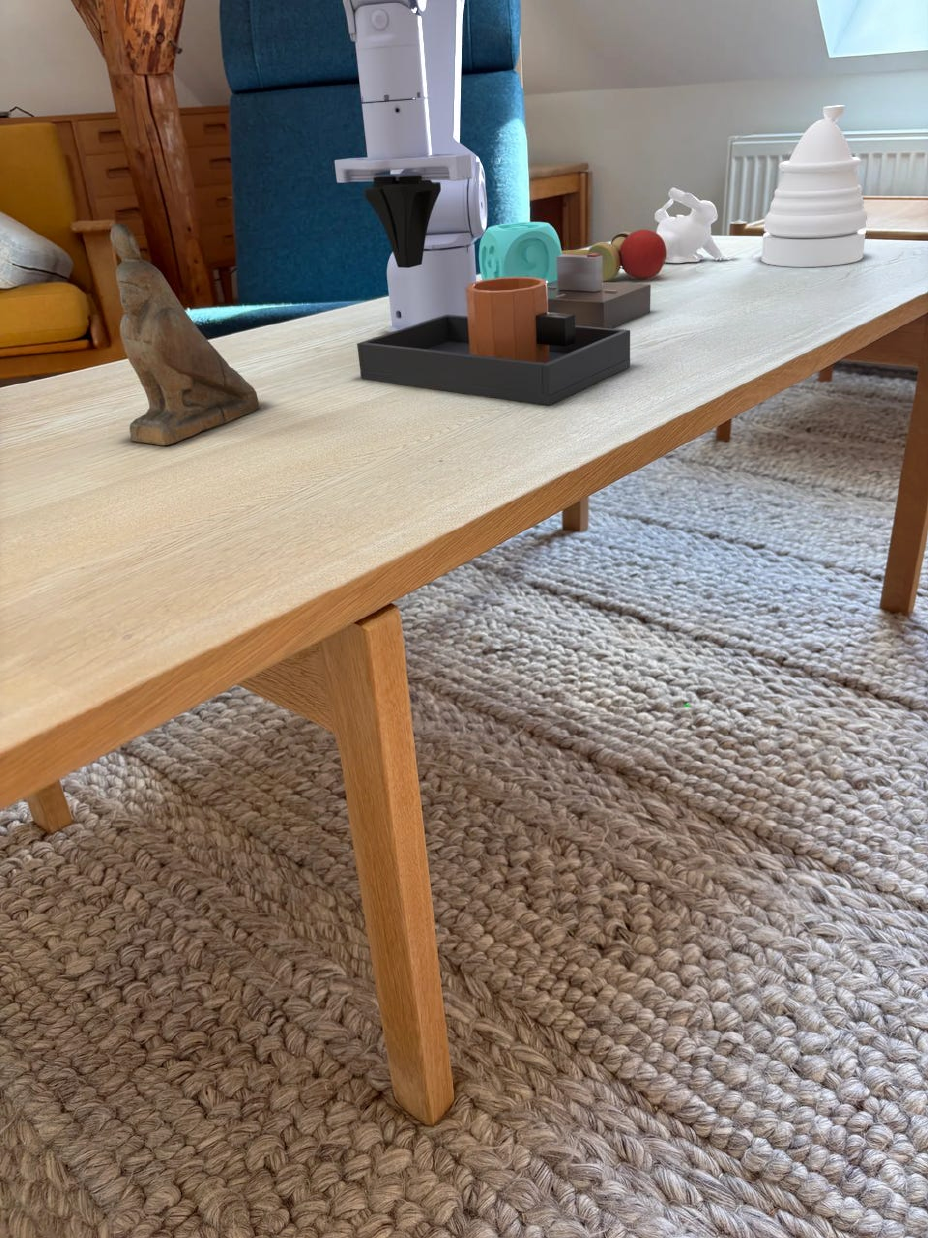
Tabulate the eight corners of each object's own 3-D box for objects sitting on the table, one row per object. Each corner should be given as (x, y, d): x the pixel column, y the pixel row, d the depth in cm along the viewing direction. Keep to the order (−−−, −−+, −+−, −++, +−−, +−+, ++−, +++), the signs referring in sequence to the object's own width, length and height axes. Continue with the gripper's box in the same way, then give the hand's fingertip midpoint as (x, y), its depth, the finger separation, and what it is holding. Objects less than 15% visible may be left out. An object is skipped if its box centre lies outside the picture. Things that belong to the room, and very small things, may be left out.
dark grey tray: (360, 378, 92) (356, 343, 90) (448, 346, 101) (446, 314, 99) (549, 405, 80) (548, 364, 78) (630, 366, 89) (630, 329, 87)
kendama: (531, 289, 133) (646, 276, 121) (529, 239, 131) (646, 221, 120) (564, 289, 138) (678, 277, 127) (562, 241, 137) (677, 224, 125)
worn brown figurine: (176, 475, 79) (82, 252, 68) (132, 465, 82) (35, 249, 70) (273, 405, 86) (202, 192, 74) (229, 398, 88) (155, 192, 77)
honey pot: (797, 248, 139) (809, 105, 130) (882, 254, 130) (900, 101, 121) (741, 262, 132) (750, 112, 124) (827, 269, 123) (842, 108, 115)
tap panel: (510, 323, 109) (508, 294, 107) (559, 305, 115) (558, 277, 114) (603, 331, 102) (603, 300, 100) (650, 312, 108) (651, 282, 107)
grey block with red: (557, 289, 108) (556, 253, 106) (564, 287, 109) (563, 251, 107) (596, 291, 105) (595, 255, 103) (602, 289, 106) (602, 253, 104)
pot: (456, 369, 88) (450, 289, 85) (501, 351, 93) (498, 275, 90) (548, 381, 83) (546, 295, 79) (592, 361, 87) (591, 280, 84)
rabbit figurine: (734, 258, 135) (738, 182, 130) (707, 268, 130) (711, 189, 125) (657, 255, 142) (659, 183, 138) (630, 264, 137) (630, 189, 133)
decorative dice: (537, 285, 128) (534, 219, 124) (563, 293, 122) (562, 225, 118) (480, 293, 126) (476, 226, 122) (504, 302, 119) (500, 232, 116)
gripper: (303, 108, 86) (324, 270, 92) (429, 98, 78) (443, 276, 84) (358, 103, 91) (375, 257, 97) (482, 93, 82) (491, 262, 89)
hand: (410, 265), depth 91 cm, fingers closed
